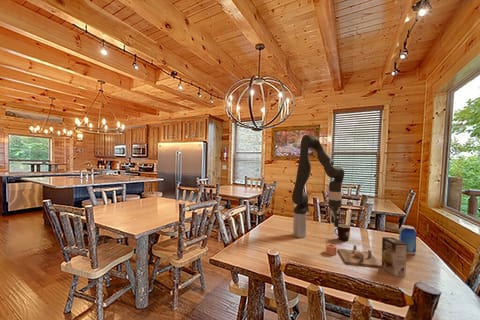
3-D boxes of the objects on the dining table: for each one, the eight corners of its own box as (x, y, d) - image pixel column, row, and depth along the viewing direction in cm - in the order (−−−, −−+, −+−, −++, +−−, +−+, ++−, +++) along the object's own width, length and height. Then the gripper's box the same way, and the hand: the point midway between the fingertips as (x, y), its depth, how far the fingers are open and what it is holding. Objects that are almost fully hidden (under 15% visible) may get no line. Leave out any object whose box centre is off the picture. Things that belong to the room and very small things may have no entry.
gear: (327, 254, 129) (327, 246, 129) (325, 250, 134) (325, 243, 134) (336, 255, 128) (337, 247, 128) (334, 251, 133) (334, 244, 133)
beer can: (412, 250, 137) (412, 225, 137) (418, 255, 129) (419, 229, 129) (396, 248, 140) (397, 224, 140) (401, 253, 132) (402, 227, 132)
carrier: (345, 263, 117) (346, 254, 117) (337, 250, 135) (337, 242, 135) (382, 268, 113) (382, 258, 113) (369, 253, 131) (369, 245, 131)
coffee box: (381, 266, 115) (381, 236, 115) (392, 266, 115) (392, 236, 115) (394, 276, 106) (395, 243, 106) (406, 275, 106) (407, 243, 106)
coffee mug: (347, 237, 158) (347, 224, 158) (352, 242, 149) (352, 228, 149) (330, 237, 159) (331, 223, 159) (334, 241, 150) (335, 227, 150)
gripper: (326, 196, 140) (325, 221, 140) (331, 200, 126) (330, 227, 126) (338, 197, 139) (337, 222, 138) (344, 201, 125) (344, 228, 124)
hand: (334, 224), depth 132 cm, fingers open, 8 cm apart
